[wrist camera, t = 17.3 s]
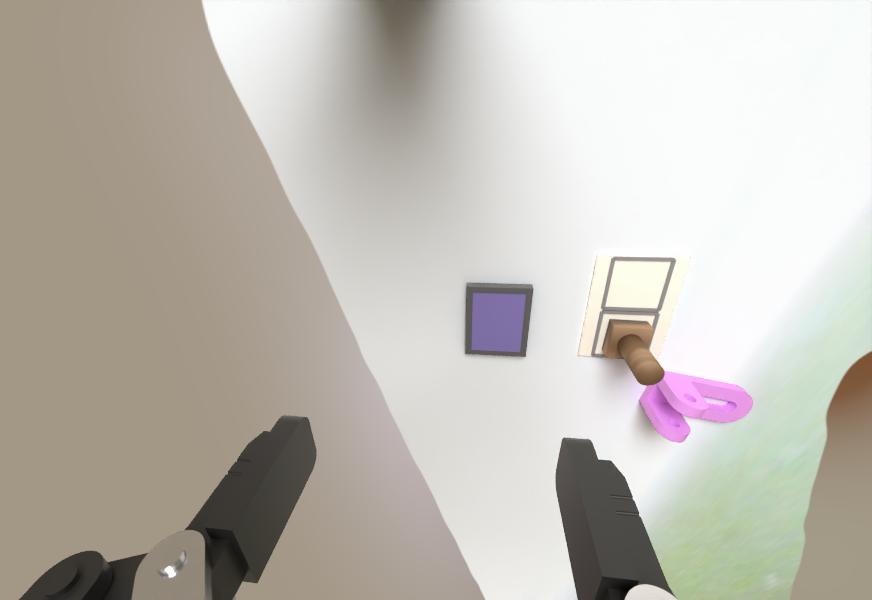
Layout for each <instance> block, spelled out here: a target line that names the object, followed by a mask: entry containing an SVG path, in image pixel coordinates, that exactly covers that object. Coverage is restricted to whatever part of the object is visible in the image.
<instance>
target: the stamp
mask: <svg viewBox="0 0 872 600" xmlns="http://www.w3.org/2000/svg"><path fill="white" fill-rule="evenodd" d="M653 332H654V329H653V327H652V326H651V325H650V324H649V322H648V321H637V320H620V319H609V322H608V326H607V330H606V334H605V338H604V342H603V346H602V350H603V352H604V354H605V356H606V358H617V359H625V361H626V363H627V364H628V366H629V368H630V369H631V371H632V373H633V374H634V376H635V378H636V379H637V381H638V382H639V383H640V384H642V385H646V386H650V385H655V384H657V383H659V382H660V381H661V380H662V379H663V378H664V375H665V372H664V370H663V368H662V367H661V365H660V364H659V363H658V361H657V360H656V359H655V357H654V356H653V354H652V353H651V352H650V350H649V349H648V347H649V344H650V341H651V338H652V335H653Z"/></svg>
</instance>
